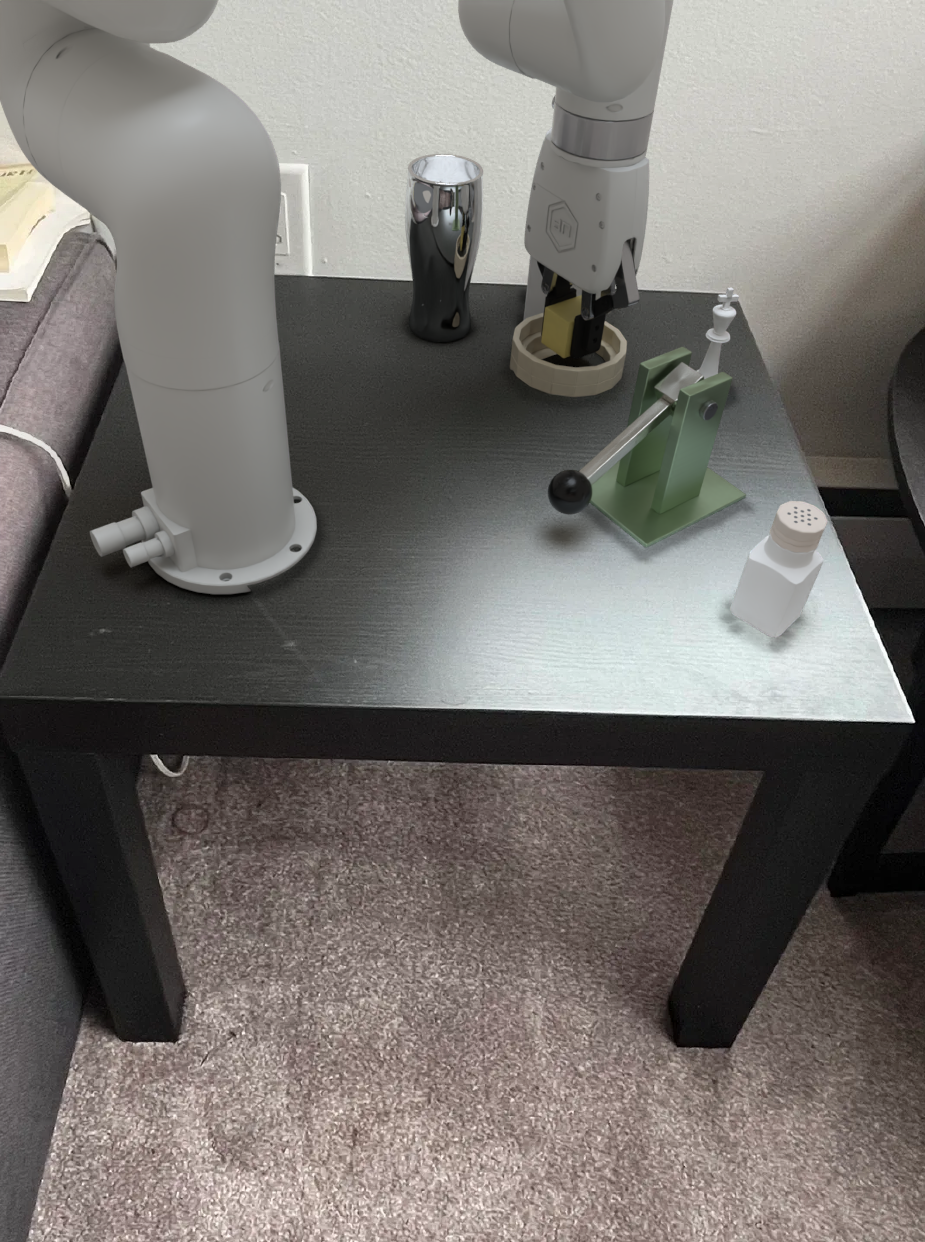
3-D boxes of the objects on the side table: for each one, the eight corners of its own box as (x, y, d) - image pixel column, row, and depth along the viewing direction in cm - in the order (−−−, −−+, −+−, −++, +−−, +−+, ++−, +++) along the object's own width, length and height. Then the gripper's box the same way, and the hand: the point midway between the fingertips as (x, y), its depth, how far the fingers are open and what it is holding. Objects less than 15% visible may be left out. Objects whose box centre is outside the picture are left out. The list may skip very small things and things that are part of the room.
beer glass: (401, 308, 97) (402, 152, 87) (471, 308, 98) (480, 153, 87) (406, 345, 93) (408, 184, 82) (479, 344, 93) (490, 185, 83)
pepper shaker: (771, 649, 67) (814, 545, 61) (722, 619, 69) (759, 515, 62) (800, 620, 70) (845, 516, 63) (752, 591, 71) (790, 488, 65)
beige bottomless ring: (558, 417, 86) (563, 382, 83) (488, 364, 91) (490, 329, 89) (643, 383, 90) (650, 349, 88) (570, 334, 96) (575, 301, 93)
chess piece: (738, 405, 88) (768, 302, 81) (686, 407, 88) (712, 304, 80) (719, 375, 92) (747, 274, 85) (669, 377, 91) (693, 275, 84)
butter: (563, 358, 87) (568, 323, 84) (540, 342, 88) (544, 307, 86) (600, 345, 89) (606, 309, 86) (577, 329, 90) (582, 294, 88)
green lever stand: (643, 556, 73) (676, 425, 65) (565, 493, 78) (586, 362, 70) (743, 506, 78) (785, 377, 70) (663, 449, 83) (694, 322, 75)
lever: (573, 530, 71) (562, 507, 68) (545, 506, 72) (533, 482, 70) (713, 403, 72) (708, 375, 69) (682, 383, 73) (676, 354, 71)
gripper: (496, 104, 78) (482, 315, 91) (639, 177, 69) (600, 400, 82) (568, 88, 81) (544, 295, 95) (712, 157, 72) (663, 374, 86)
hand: (570, 342), depth 88 cm, fingers closed on butter, 3 cm apart
